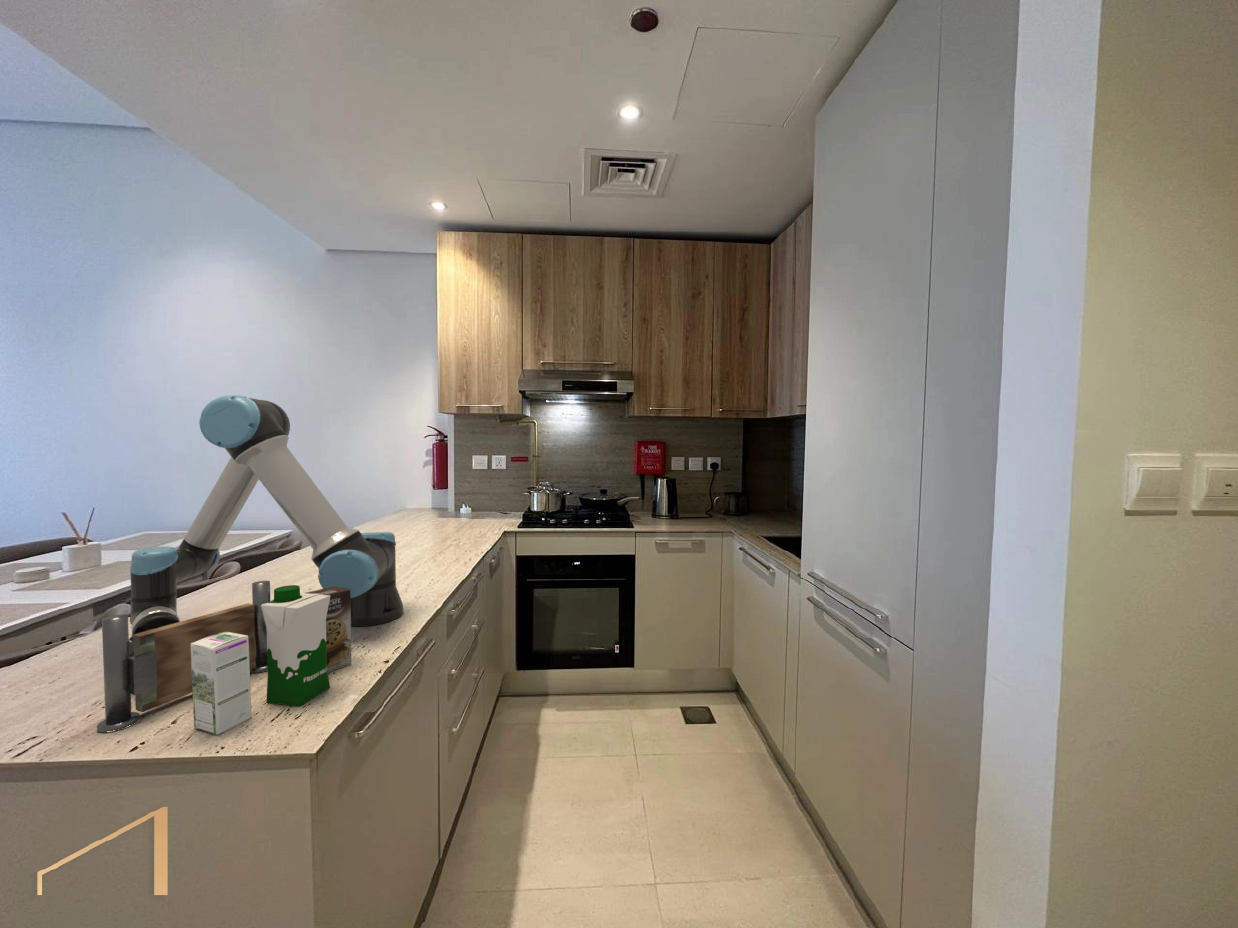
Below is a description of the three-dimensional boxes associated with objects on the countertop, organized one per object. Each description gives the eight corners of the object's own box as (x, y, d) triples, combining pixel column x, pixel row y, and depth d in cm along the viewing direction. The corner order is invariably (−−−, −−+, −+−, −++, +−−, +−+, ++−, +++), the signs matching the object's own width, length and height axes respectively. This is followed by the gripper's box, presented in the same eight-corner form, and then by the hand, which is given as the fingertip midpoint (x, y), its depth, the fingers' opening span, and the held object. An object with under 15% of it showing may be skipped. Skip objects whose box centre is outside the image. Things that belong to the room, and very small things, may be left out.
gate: (249, 666, 100) (248, 603, 99) (255, 667, 99) (254, 604, 99) (135, 709, 83) (133, 634, 83) (142, 712, 82) (139, 636, 82)
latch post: (142, 709, 85) (138, 608, 85) (158, 715, 83) (155, 612, 83) (90, 728, 79) (86, 620, 79) (106, 736, 77) (102, 624, 77)
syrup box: (253, 717, 83) (251, 633, 82) (214, 736, 77) (212, 647, 77) (230, 711, 85) (228, 629, 84) (191, 730, 79) (188, 642, 78)
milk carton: (298, 681, 95) (296, 580, 95) (338, 686, 94) (336, 583, 93) (257, 704, 87) (254, 594, 86) (300, 710, 85) (297, 597, 84)
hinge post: (268, 660, 105) (266, 578, 104) (283, 664, 103) (281, 580, 102) (242, 670, 100) (240, 584, 99) (257, 675, 98) (255, 587, 97)
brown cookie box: (307, 681, 95) (305, 600, 95) (291, 673, 99) (289, 595, 98) (353, 663, 103) (351, 588, 103) (336, 657, 107) (335, 584, 106)
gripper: (199, 637, 109) (215, 673, 92) (109, 655, 99) (108, 699, 82) (199, 604, 108) (214, 634, 92) (109, 619, 98) (108, 655, 82)
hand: (164, 665), depth 87 cm, fingers closed
